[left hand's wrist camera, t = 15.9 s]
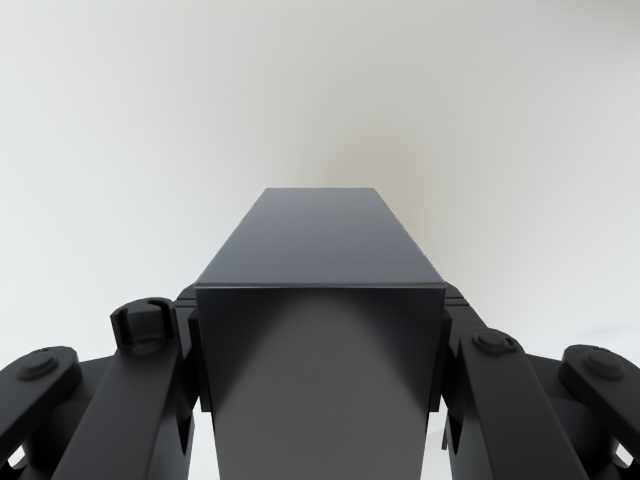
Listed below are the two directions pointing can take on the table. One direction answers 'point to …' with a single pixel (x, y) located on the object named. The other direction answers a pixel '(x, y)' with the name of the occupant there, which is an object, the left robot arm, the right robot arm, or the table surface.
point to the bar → (320, 340)
